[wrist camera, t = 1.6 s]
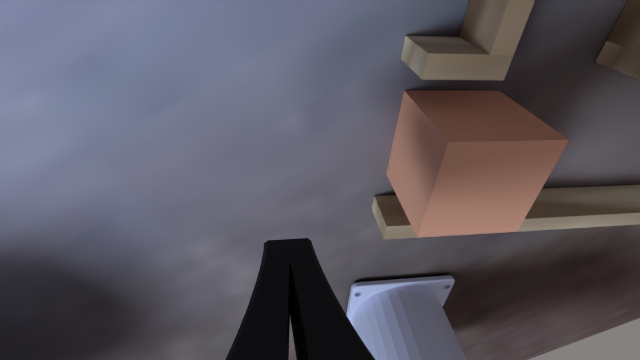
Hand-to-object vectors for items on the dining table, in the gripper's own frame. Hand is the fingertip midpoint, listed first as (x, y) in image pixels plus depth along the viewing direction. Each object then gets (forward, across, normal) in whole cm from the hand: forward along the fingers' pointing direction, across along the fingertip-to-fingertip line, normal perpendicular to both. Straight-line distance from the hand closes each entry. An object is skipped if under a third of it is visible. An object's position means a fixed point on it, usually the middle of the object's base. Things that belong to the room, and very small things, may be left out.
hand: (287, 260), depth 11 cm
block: (+8, -8, 0) cm, 12 cm away
